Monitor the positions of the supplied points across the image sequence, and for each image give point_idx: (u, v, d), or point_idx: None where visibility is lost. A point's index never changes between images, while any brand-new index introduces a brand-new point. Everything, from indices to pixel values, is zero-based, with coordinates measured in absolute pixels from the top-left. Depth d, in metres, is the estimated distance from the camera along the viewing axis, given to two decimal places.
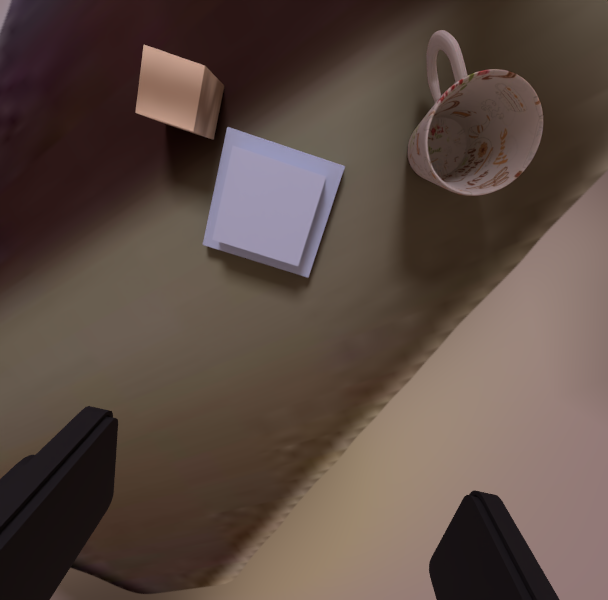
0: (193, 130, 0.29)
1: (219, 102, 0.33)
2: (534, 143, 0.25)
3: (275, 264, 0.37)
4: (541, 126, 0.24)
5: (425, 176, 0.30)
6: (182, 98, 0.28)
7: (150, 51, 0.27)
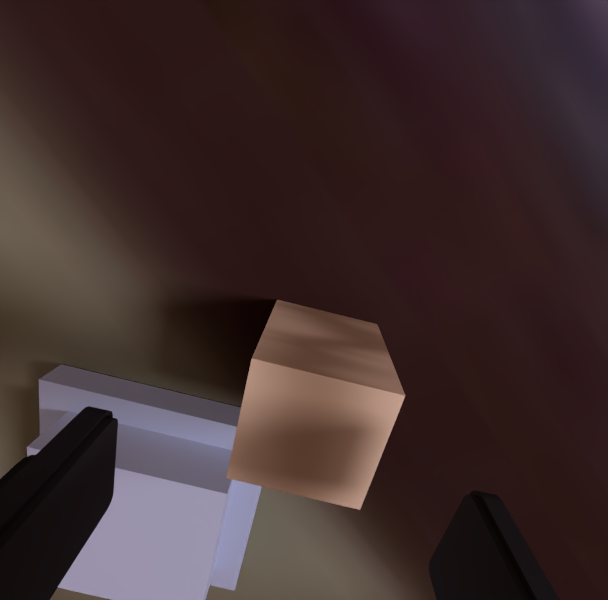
0: (229, 476, 0.12)
1: None
2: None
3: None
4: None
5: None
6: (293, 463, 0.12)
7: (390, 407, 0.11)
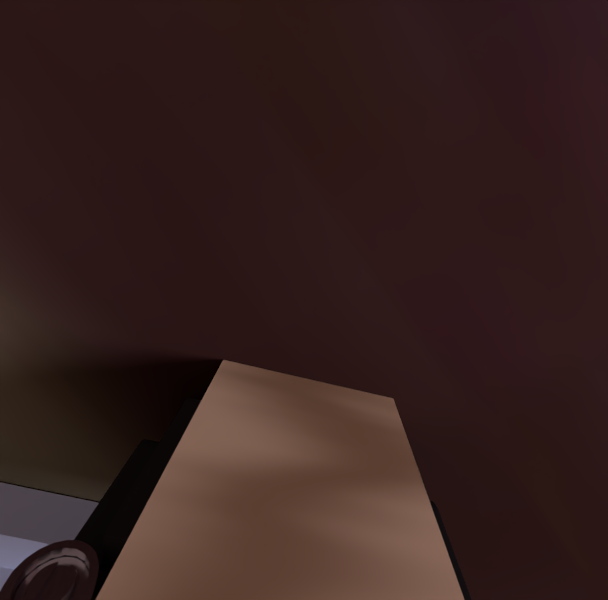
0: None
1: None
2: None
3: None
4: None
5: None
6: None
7: None
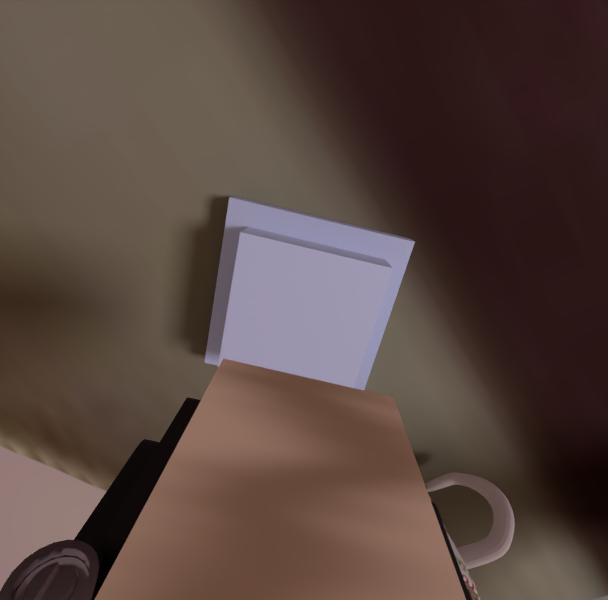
0: None
1: None
2: None
3: (216, 316, 0.24)
4: None
5: None
6: None
7: None
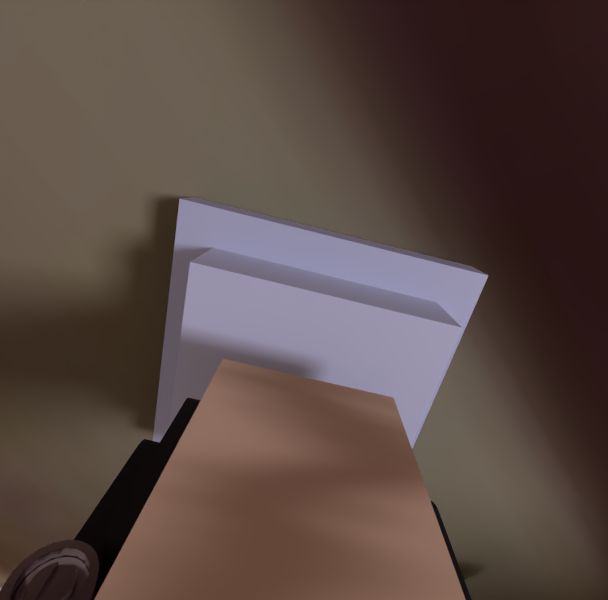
0: None
1: None
2: None
3: (166, 384, 0.15)
4: None
5: None
6: None
7: None
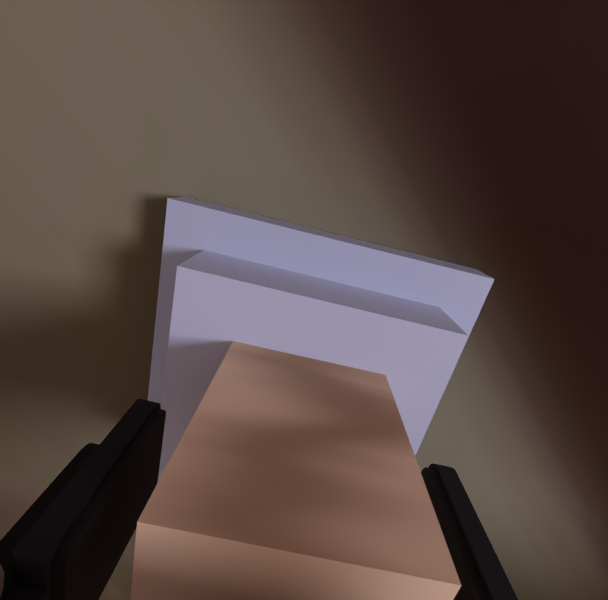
0: None
1: None
2: None
3: (156, 392, 0.14)
4: None
5: None
6: None
7: None
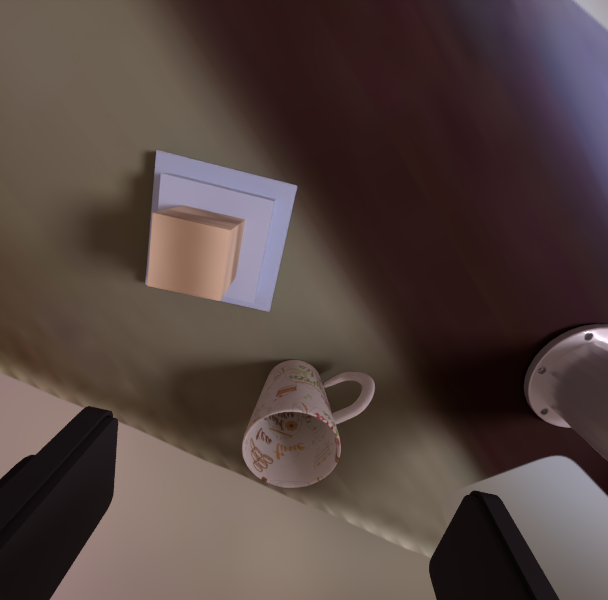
0: (149, 285, 0.23)
1: None
2: (289, 483, 0.30)
3: None
4: (301, 486, 0.29)
5: (262, 395, 0.32)
6: (181, 274, 0.23)
7: (224, 237, 0.22)
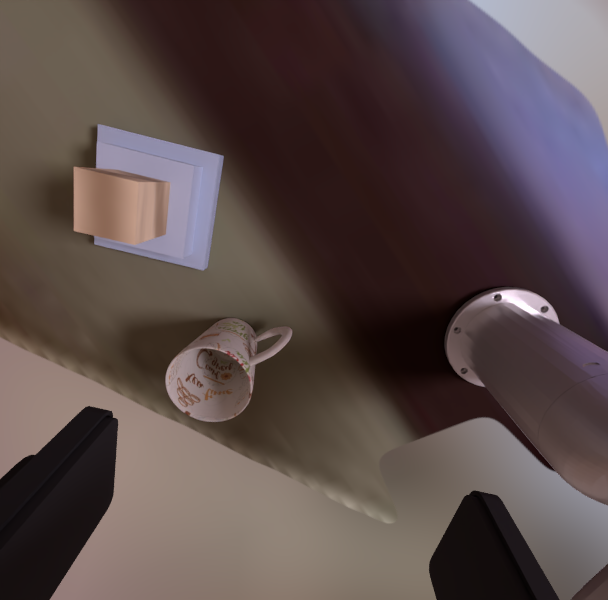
0: (75, 230, 0.27)
1: None
2: (210, 418, 0.33)
3: None
4: (220, 420, 0.33)
5: None
6: (101, 220, 0.27)
7: (134, 188, 0.26)
